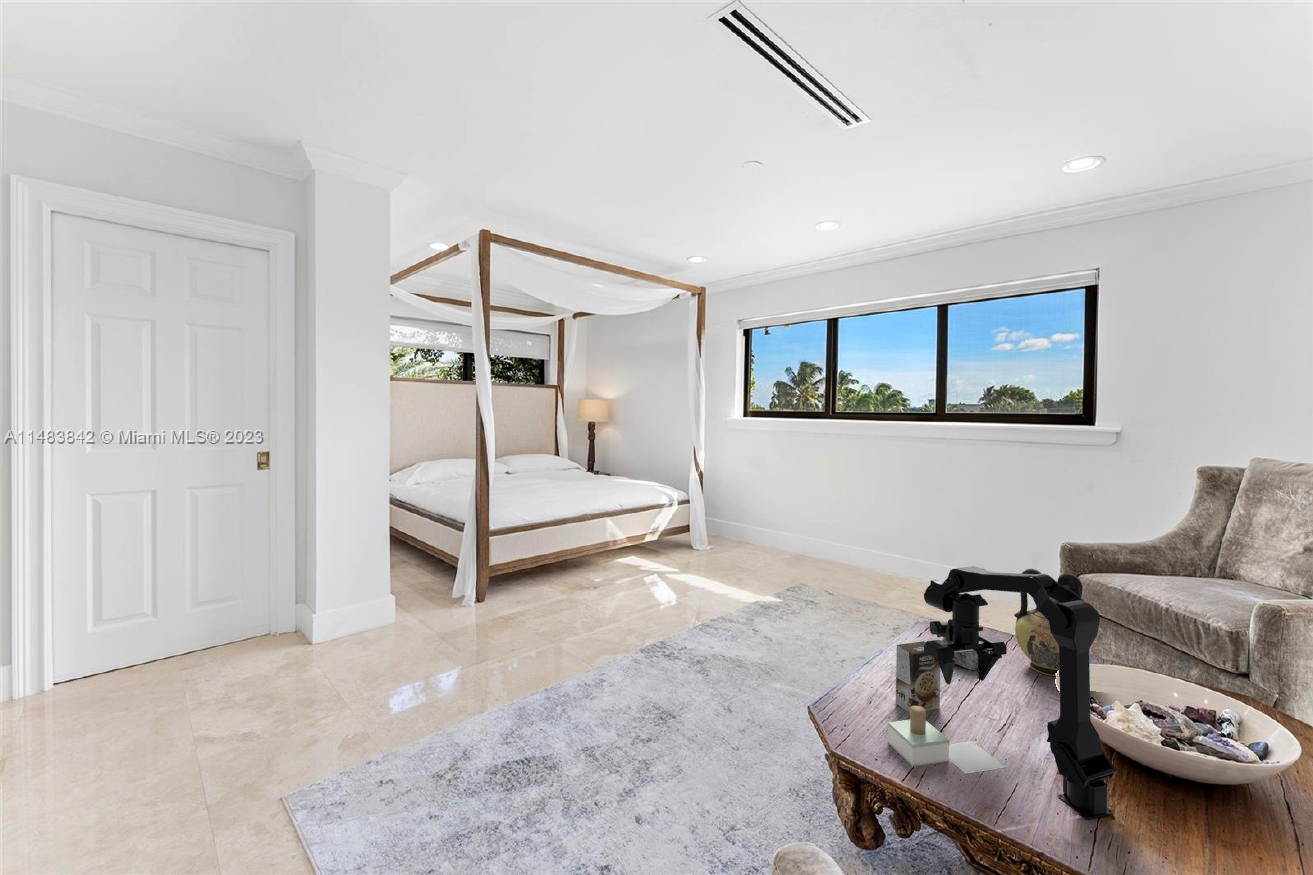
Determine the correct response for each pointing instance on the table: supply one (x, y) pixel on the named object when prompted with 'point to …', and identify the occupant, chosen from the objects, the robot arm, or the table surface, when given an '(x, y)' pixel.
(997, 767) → the mat
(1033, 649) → the amphora
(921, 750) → the white open tray
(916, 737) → the lid
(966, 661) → the mineral rock
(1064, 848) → the table surface
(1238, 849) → the table surface
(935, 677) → the coffee box
